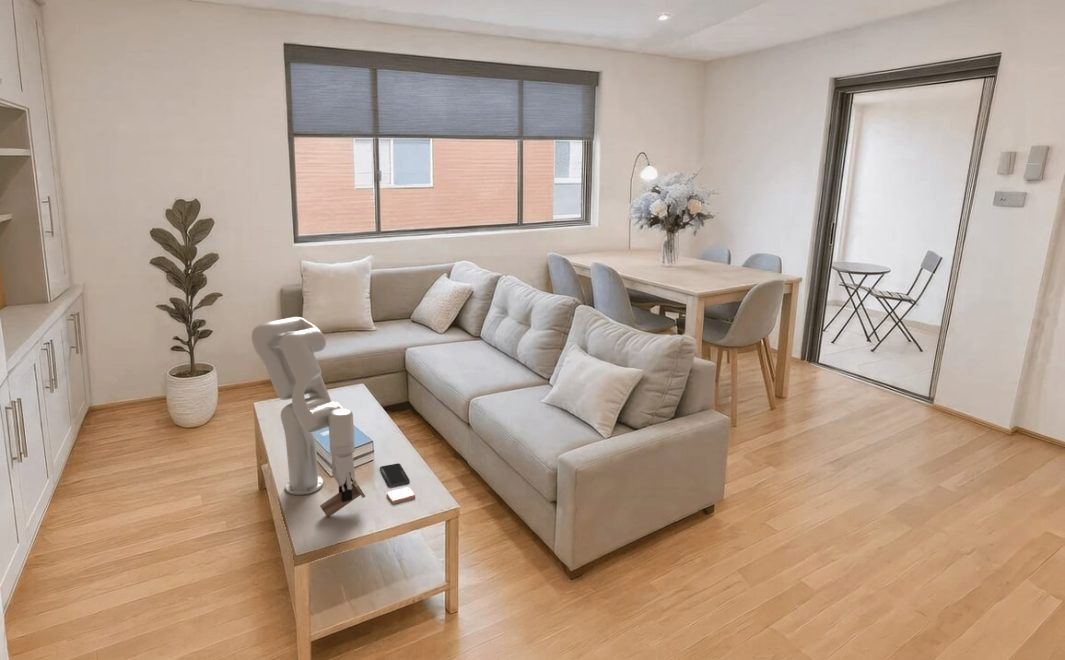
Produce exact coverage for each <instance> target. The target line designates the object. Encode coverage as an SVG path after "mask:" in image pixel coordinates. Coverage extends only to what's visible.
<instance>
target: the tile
mask: <svg viewBox="0 0 1065 660" xmlns="http://www.w3.org/2000/svg"><path fill="white" fill-rule="evenodd" d="M386 497H387V498H388V500H389V501H390V503H391V504H392V505H396V504H398V502H399V503H402V502H406V501H410V500H412V499H413V500H414V499H416V494H415V492H414V491H413V490H412V489H411V487H410V486H407V487H403V488H402V487H401V488H399V489H394V490H392V491H391V490H390V491H387V492H386Z"/></svg>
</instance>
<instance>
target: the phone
mask: <svg viewBox="0 0 1065 660" xmlns="http://www.w3.org/2000/svg"><path fill="white" fill-rule="evenodd" d="M379 471H380V473H381V475H382V477H383V479H384V481H385V483H386V485H387V487H388V486H389V488H393V486H394V487H399V486H403V484H404V485H408V484H409V483H410V481H411V480H410V479H409V476H408V475H407V473H406V472H405V469H404V467H403V466H402V464H401V463H393V464H386V465H381V466H379ZM398 485H399V486H398Z"/></svg>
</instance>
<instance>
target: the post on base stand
mask: <svg viewBox="0 0 1065 660" xmlns="http://www.w3.org/2000/svg"><path fill="white" fill-rule="evenodd" d="M351 484H352V500H350V501H346V502H342V497H341V492H339V491H338V493H335V495H333V496H331V498H329V499H327V500H326V501H324V502H323V503H322V504H321V505H319V506H320V509H321V510H322V511H323V513H324V514H325V515H326V517H327V518H330V517H331V516H333V515H334V514H335V513H337V512H339V511H340V510H342V509H343V508H344V507H345V506H347V505H349V504H350V503H351V502H353V501H354V500H356V499H357V498H359V497H360V496H361V498H362V499H364V498H365V497H366V495H365V493H364V492H363V490H362V488H361V487H360V485H359V484H358V483H357V482H356V480H355V481H354V482H353V483H352V482H351Z"/></svg>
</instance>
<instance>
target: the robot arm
mask: <svg viewBox="0 0 1065 660" xmlns="http://www.w3.org/2000/svg"><path fill="white" fill-rule="evenodd" d="M251 342H252V346H253V348H254V350H255V352H256V354H257V355H258V357H259V358H260V360H261V361H262V363H263V364H264V367H265V368H266V371H267V373H268V377H269V378H270V381H271V384H272V386H273V387H272V388H273V389H274V392H275V394H276V395H277V397H278V398H279V399H280V400H282V401H288V400H291V403H288V404H286V405H285V406H284V407H283V408H282V409H281V412H280V420H281V424H282V428H283V431H284V437H285V444H286V445H285V447H286V453H287V454H286V456H287V466H288V467H287V469H288V480H287V481H286V483H285V485H284V488H285V489H284V490H285V491H286V492H287V493H288V494H291V495H295V496H303V495H304V496H305V495H309V494H313V493H315V492H317V491H318V490H320V489H321V488H323V486H324V479H323V477H321V476H320V475H319V472H318V471H319V467H318V456H317V454H318V453H317V442H316V437H315V435H314V433H315V432H317V431H321V430H323V429H326V428H328V435H329V450H330V451H329V452H330V454H331V474H332V476H333V478H334V480H335V482H336V483H337V484H338V493H339V492H341V497H342V502H346V501H350V500H352V483H353V482H354V481H356V480H355V479H356V476H355V466H354V456H353V454H354V453H355V451H356V446H355V445H356V444H355V441H356V440H355V427H354V426H355V425H354V414H353V412H352V410H351V409H348V408H345V407H344V406H343V405H342V403H340V402H338V401H336V400H334V401H333V400H332V399H331V396H330V395H329V392H328V389H327V386H326V384H325V382H324V379H323V376H322V368H321V367H320V364H319V362H318V360H317V357H316V356H315V353H318V352H322V351H323V350H324V349H325V348H326V344H327V342H326V337H325V335H324V333H323V332H322V331H321V329H320V328H319V327H317V326H316V325H315V324H313V323H311V322H309V321H308V320H306V319H305V318H303V317H300V316H291V317H286V318H281V319H275V320H271V321H266V322H263V323H260V324H257V325H256V326H255V327H254V328H253V329H252V332H251ZM278 346H279V347H278ZM307 395H308V396H309V397H306V398H305V396H307Z"/></svg>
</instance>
